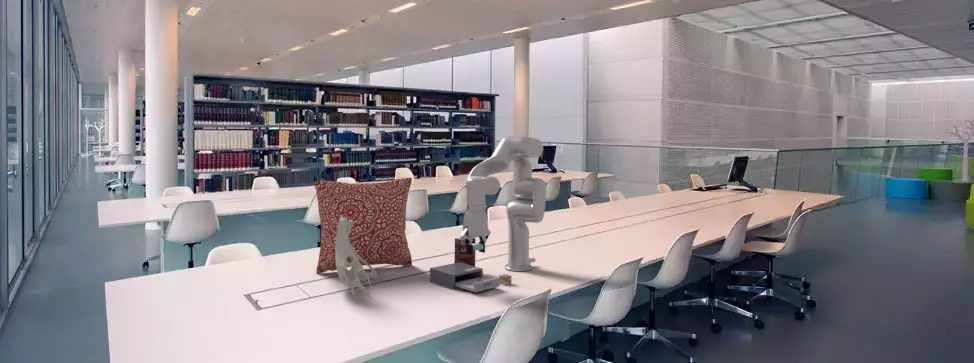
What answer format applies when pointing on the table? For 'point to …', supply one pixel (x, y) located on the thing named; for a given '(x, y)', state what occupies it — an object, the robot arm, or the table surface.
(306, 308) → the table surface
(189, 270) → the table surface
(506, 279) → the tan cube
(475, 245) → the dome with round knob
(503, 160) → the robot arm
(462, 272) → the box
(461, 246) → the supplement box
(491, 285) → the tray
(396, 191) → the pillow
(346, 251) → the sculpture
